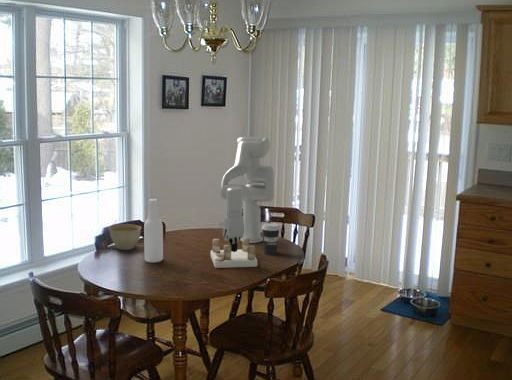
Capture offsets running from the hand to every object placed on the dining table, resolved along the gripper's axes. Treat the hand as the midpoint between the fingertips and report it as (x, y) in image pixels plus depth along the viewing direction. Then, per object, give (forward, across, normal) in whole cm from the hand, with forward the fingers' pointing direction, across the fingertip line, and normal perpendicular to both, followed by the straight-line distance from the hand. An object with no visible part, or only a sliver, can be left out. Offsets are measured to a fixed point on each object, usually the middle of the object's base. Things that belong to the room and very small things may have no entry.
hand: (233, 251), depth 281 cm
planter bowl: (+7, +26, -57) cm, 63 cm away
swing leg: (+3, +4, -3) cm, 6 cm away
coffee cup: (+7, -27, -3) cm, 28 cm away
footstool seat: (+6, -2, -3) cm, 7 cm away
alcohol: (+6, +27, -28) cm, 39 cm away
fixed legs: (+3, -3, -3) cm, 5 cm away
